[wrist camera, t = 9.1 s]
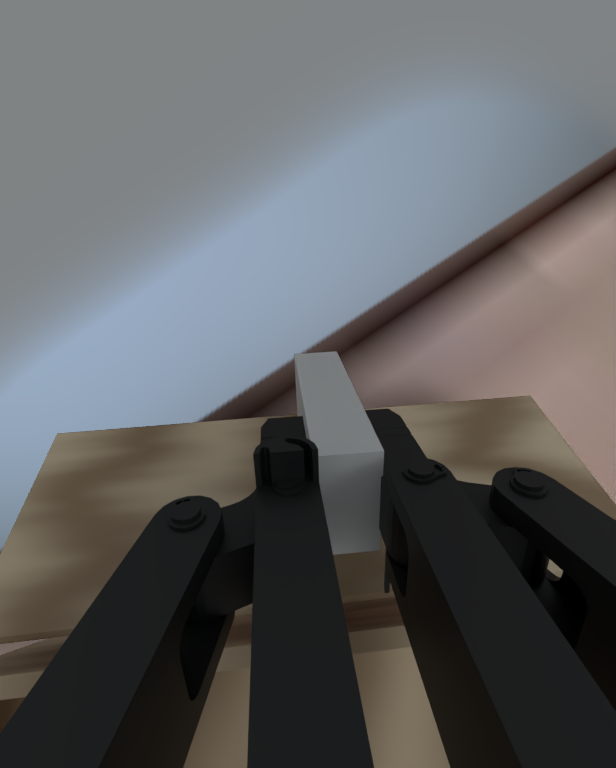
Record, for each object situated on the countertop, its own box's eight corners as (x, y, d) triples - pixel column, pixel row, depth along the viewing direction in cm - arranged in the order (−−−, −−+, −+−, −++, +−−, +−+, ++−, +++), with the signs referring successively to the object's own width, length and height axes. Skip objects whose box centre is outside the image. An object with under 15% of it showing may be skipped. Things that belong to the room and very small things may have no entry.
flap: (650, 567, 12) (526, 403, 18) (658, 559, 12) (530, 395, 18) (-32, 648, 11) (61, 441, 16) (-42, 641, 11) (57, 433, 16)
